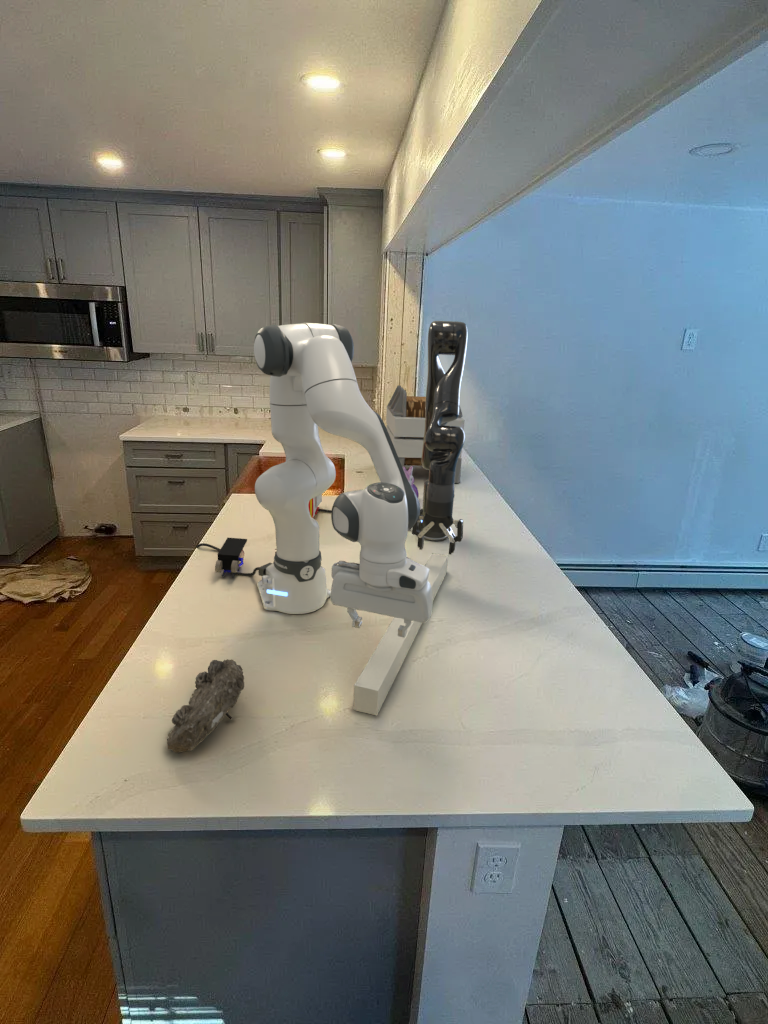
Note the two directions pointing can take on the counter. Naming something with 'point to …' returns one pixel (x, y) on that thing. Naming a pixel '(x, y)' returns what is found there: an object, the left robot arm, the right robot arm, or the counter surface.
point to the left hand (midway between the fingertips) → (379, 630)
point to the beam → (392, 650)
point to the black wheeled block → (230, 556)
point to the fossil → (206, 705)
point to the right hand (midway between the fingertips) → (435, 551)
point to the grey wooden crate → (412, 428)
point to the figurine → (411, 478)
